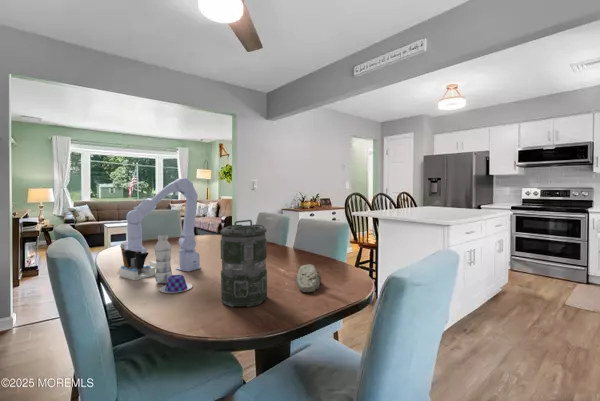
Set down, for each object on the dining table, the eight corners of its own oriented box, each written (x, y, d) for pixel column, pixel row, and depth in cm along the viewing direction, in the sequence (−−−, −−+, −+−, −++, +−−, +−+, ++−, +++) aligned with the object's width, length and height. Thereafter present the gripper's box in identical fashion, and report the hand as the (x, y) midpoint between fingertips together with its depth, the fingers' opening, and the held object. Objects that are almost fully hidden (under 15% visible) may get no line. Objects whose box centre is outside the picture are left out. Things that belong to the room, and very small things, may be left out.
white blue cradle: (168, 271, 145) (167, 262, 145) (134, 280, 131) (134, 269, 131) (153, 268, 151) (152, 259, 151) (119, 276, 138) (119, 266, 137)
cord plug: (141, 273, 138) (141, 257, 138) (134, 275, 136) (134, 259, 136) (137, 272, 140) (137, 257, 140) (131, 274, 138) (130, 258, 137)
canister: (246, 289, 119) (246, 217, 118) (276, 298, 109) (275, 219, 108) (211, 301, 107) (210, 220, 105) (241, 312, 96) (240, 224, 95)
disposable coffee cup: (135, 268, 150) (134, 244, 150) (116, 268, 150) (115, 244, 150) (145, 264, 160) (145, 241, 159) (127, 264, 160) (127, 241, 160)
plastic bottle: (166, 285, 124) (165, 236, 123) (151, 284, 125) (150, 236, 124) (175, 281, 130) (174, 234, 129) (161, 280, 131) (160, 233, 131)
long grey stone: (318, 272, 148) (297, 273, 148) (317, 261, 148) (296, 262, 148) (322, 293, 113) (295, 294, 113) (322, 278, 113) (295, 280, 113)
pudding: (157, 287, 122) (157, 274, 122) (189, 283, 128) (189, 270, 128) (161, 297, 112) (161, 282, 112) (195, 291, 118) (195, 277, 118)
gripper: (117, 237, 138) (117, 267, 138) (135, 239, 130) (135, 271, 130) (132, 235, 144) (133, 263, 144) (150, 237, 136) (151, 268, 136)
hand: (135, 267), depth 138 cm, fingers open, 7 cm apart
